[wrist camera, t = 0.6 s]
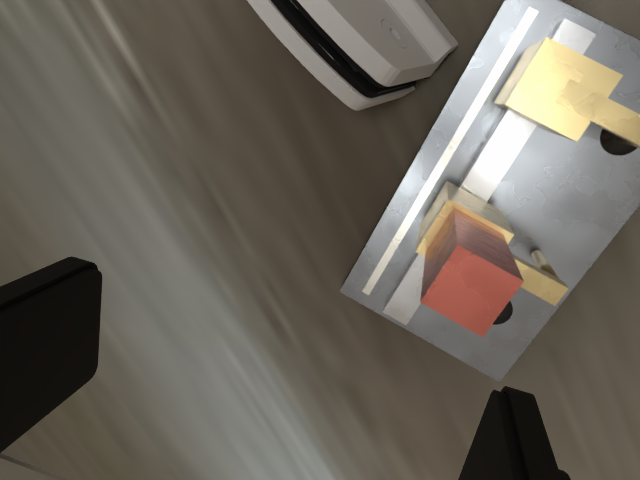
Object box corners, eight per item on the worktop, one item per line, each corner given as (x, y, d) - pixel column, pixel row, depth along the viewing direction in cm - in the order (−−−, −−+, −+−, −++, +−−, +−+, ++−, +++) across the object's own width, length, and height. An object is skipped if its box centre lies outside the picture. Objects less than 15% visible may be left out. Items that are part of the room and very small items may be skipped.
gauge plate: (721, 86, 29) (829, 83, 21) (497, 373, 38) (512, 450, 30) (513, -17, 30) (540, -58, 22) (342, 286, 39) (316, 336, 31)
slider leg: (558, 237, 32) (640, 337, 19) (527, 279, 33) (584, 400, 20) (446, 177, 33) (450, 233, 19) (420, 220, 34) (407, 301, 21)
